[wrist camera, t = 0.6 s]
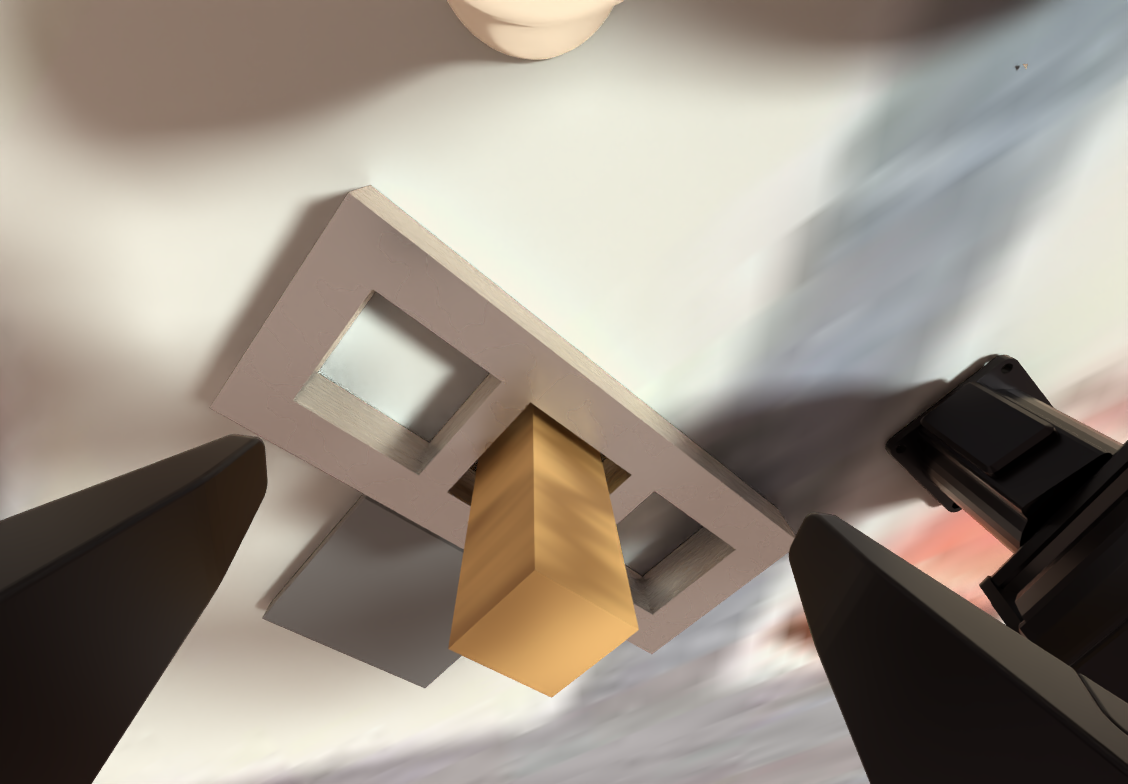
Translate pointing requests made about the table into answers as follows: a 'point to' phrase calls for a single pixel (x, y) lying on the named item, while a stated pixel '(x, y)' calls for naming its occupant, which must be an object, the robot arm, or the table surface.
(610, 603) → the peg
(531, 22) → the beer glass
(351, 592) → the mat
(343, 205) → the grey flat frame
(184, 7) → the table surface
